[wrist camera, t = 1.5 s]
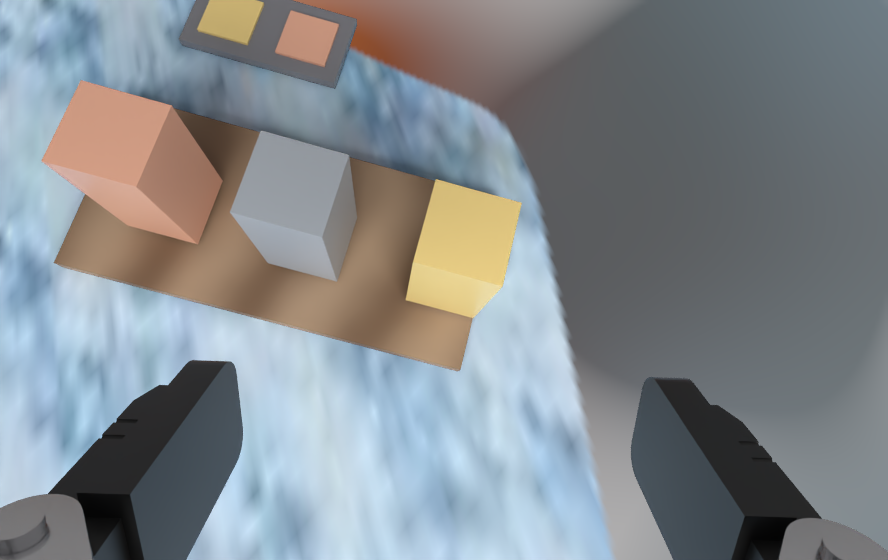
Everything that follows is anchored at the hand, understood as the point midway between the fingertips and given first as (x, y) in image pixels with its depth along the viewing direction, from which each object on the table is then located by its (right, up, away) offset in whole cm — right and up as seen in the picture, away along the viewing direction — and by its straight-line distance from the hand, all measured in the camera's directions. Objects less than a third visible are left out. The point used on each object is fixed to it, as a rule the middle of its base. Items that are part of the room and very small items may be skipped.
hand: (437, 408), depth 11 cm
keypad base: (-9, +5, +22) cm, 24 cm away
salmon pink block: (-15, +7, +20) cm, 26 cm away
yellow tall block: (0, +3, +21) cm, 21 cm away
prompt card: (-11, +19, +25) cm, 33 cm away
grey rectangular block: (-7, +5, +21) cm, 23 cm away
